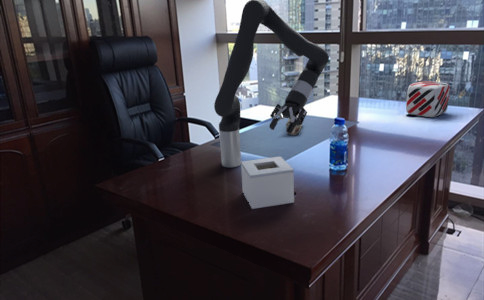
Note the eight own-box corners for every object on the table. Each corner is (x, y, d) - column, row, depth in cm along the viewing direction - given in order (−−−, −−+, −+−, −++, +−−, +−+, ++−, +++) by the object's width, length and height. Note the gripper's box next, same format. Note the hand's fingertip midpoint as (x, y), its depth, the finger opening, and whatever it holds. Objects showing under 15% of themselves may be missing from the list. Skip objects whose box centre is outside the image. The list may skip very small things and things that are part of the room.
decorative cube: (418, 109, 269) (421, 79, 263) (449, 113, 255) (452, 82, 248) (403, 114, 258) (405, 83, 251) (433, 119, 243) (437, 86, 236)
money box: (242, 192, 158) (240, 161, 154) (281, 186, 162) (280, 156, 157) (252, 208, 144) (250, 175, 140) (294, 202, 148) (293, 169, 143)
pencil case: (300, 135, 227) (300, 118, 224) (285, 135, 229) (285, 118, 226) (304, 125, 247) (304, 109, 244) (290, 125, 249) (290, 109, 246)
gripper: (280, 87, 156) (260, 122, 153) (309, 91, 146) (288, 128, 142) (289, 98, 161) (270, 132, 158) (318, 102, 151) (298, 139, 147)
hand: (279, 130), depth 150 cm, fingers open, 8 cm apart
